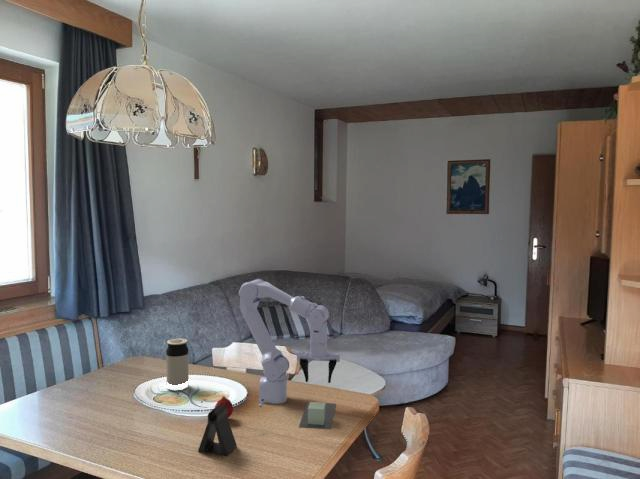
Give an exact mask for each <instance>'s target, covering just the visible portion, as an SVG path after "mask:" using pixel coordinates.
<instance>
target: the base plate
mask: <svg viewBox="0 0 640 479" xmlns="http://www.w3.org/2000/svg"><path fill="white" fill-rule="evenodd" d="M310 402H311V401H310ZM310 402H309V401H307V402H306V405H305V407H304V410H303V413H302V415H301V420H300V422H299V425H298V428H299V429H300V428H301V429H303V428H304V429H317V430H332V427H333V423H334V418H335V416H334V415H335V411H336V406H337V404H336V403H333V402H332V403H331V402H328V403H327V402H325V403H326V406H325V422H324V425H315V424H308V407H309V404H310Z"/></svg>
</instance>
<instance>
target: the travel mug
mask: <svg viewBox="0 0 640 479" xmlns="http://www.w3.org/2000/svg"><path fill="white" fill-rule="evenodd" d="M166 343H167V348H166V350H165V352H166V353H165V354H166V359H165V360H166V364H165V365H166V383H167V382H168V383H169V384H172V385H178V384H182V383H185V382H186V381H188V379H189V347H188V346H187V343H188V339H186V338H173V339H169V340H167V342H166Z"/></svg>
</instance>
